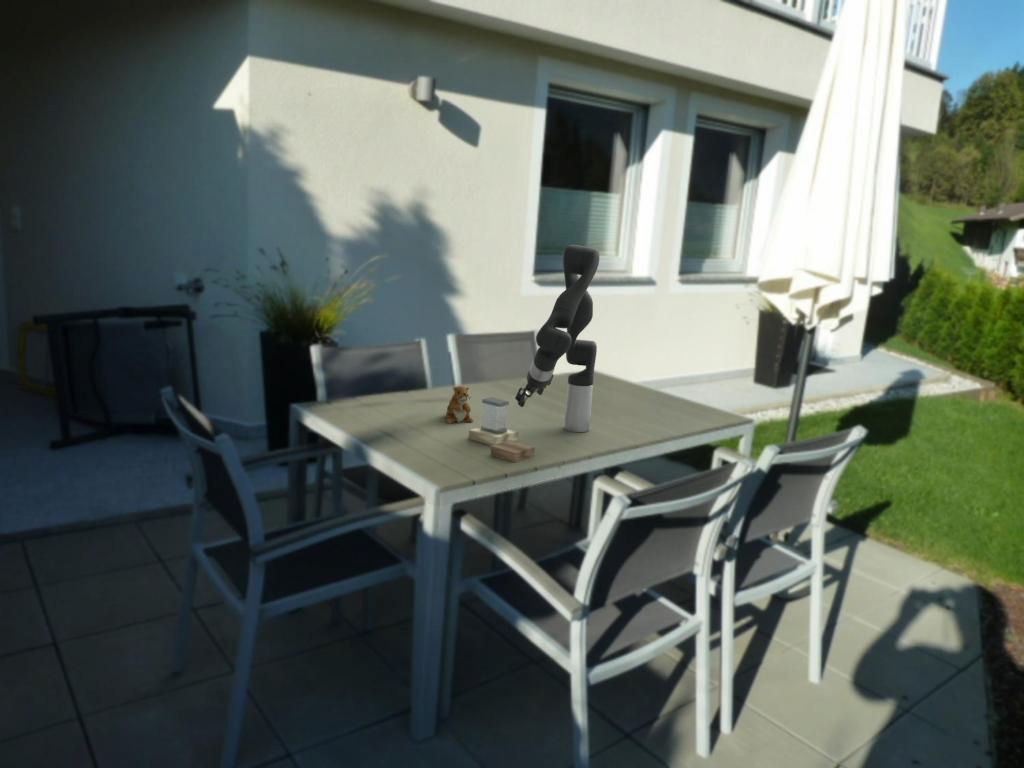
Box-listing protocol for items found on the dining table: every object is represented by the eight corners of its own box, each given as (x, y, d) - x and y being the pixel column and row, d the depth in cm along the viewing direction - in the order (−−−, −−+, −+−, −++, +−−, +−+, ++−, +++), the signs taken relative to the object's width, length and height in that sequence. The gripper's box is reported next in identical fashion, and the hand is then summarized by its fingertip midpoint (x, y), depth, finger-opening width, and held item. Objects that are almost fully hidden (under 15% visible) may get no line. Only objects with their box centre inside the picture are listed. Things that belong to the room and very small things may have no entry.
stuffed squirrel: (448, 424, 276) (449, 389, 273) (440, 414, 289) (441, 381, 286) (474, 424, 279) (476, 389, 276) (465, 414, 292) (467, 380, 289)
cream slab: (491, 432, 269) (491, 424, 268) (517, 439, 262) (518, 431, 261) (468, 438, 260) (469, 430, 259) (495, 446, 253) (495, 437, 252)
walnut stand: (510, 448, 251) (510, 440, 250) (533, 456, 245) (534, 447, 244) (490, 454, 243) (490, 445, 243) (514, 462, 237) (515, 453, 237)
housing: (490, 427, 264) (491, 397, 262) (506, 432, 260) (508, 401, 258) (480, 429, 261) (482, 399, 258) (497, 434, 256) (499, 403, 254)
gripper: (548, 353, 247) (537, 381, 260) (517, 373, 240) (506, 401, 253) (564, 369, 245) (552, 396, 257) (532, 389, 237) (521, 417, 250)
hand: (529, 399), depth 255 cm, fingers open, 8 cm apart
